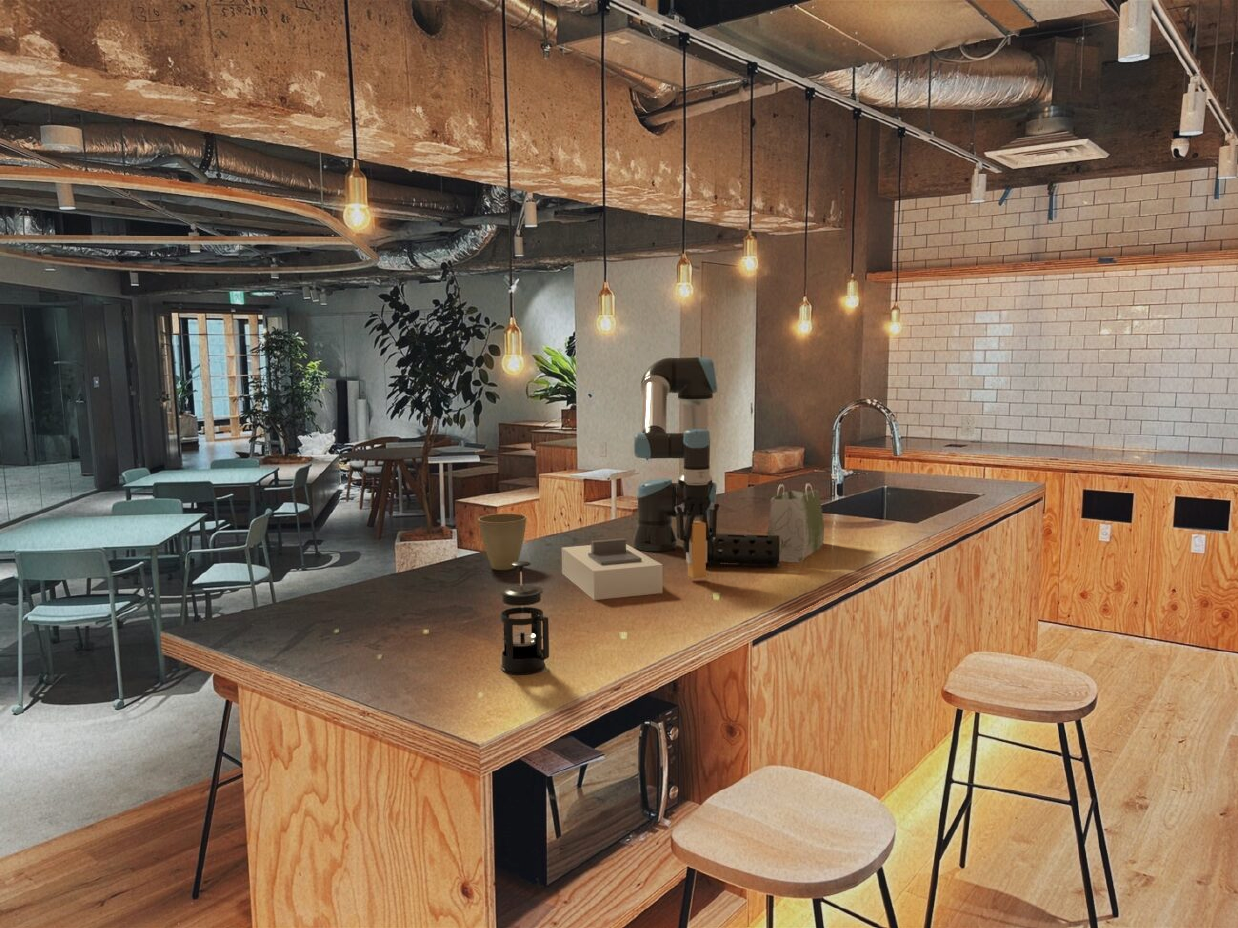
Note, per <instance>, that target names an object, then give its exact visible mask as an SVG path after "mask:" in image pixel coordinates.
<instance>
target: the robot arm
mask: <svg viewBox="0 0 1238 928" xmlns="http://www.w3.org/2000/svg"><path fill="white" fill-rule="evenodd" d="M716 376H717V375H716V369H715V364H714V361H713V359H711V358H710V357H702V356H701V357H700V356H698V357H667V358H662V359H660V360H658V361H656V362H654V363H653V364H651V366H649V367H648V368H647V370H646V371H645V372H644V374H643V376H642V378H641V381H640V392H641V394H642V396H643V398H642V419H641V432H639V433H636V434H635V435H634V436H633V437H634V438H633V439H634V440H633V442H634V444H633V445H634V446H633V448H634V450H633V451H634V452H633V453H634V457H635V458H637V459H647V460H650V459H682V473H681V474H680V475H679V476H678V477H677V482H673V481H672V478H668V477H667V478H654V479H649V480H645V481H642V482H641V483H639V484H638V487H637V526H636V530H635V533H634V536H633V540H632V548H634V549H636V550H638V551H643V552H644V551H645V552H666V551H671V550H672V551H673V550H675V549H676V548H677V547H678V540H680V541H683V545H682V547H683V552H684V553H685V558H686V559H685V562H686V563H687V564H688V563H689V564H692V542H691V541H690V537H691V531H692V524H693V521H695V518H699V521H701V522H703V523H706V564H707V563H708V562H707V551H708V550H709V549H710V540H711V539H712V538H713V537H716V534H717V527H718V526H717V523H718V521H717V520H718V512H719V511H718V510H719V507H720V505H719V503H717V502H716V497H717V483H716V482H714V481H713V477H712V476H711V473H710V472H711V469H710V466H711V465H710V462H711V461H710V457H711V455H710V454H711V453H710V452H711V450H710V449H711V437H710V431H709V403H710V402H711V401H712V400H713V398H714V397H713V394H716V393H718V387H717V385H718V384H717V377H716ZM671 393H672V394H677V399H678V400H679V401H680V402H681V404H682V432H679V433H678V432H677V433H676V432H669V433H668V432H667V417H668V415H667V406H668V395H669V394H671ZM708 517H709V520H708ZM673 518H675V519H676V520H675V521H676V533H675V530H674V528H673V520H672V519H673ZM684 518H686V519H685V524H684ZM708 521H709V522H708ZM677 539H678V540H677Z"/></svg>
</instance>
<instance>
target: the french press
mask: <svg viewBox="0 0 1238 928" xmlns="http://www.w3.org/2000/svg"><path fill="white" fill-rule="evenodd" d="M531 564H532V563H531V562H529V561H525V560H518V561H517V562H513V563H511V565H512V566H516V567H517V568H518V572H519V578H520V579H519V581H520V583H519V585H511V586H507V587H503V588H501V589H500V591H499V594H500V595H501V596H502V597H501V598H502V602H503V604H505V605H509V606H516V607H512V608H507V609H505V610H503V611H501V613H500V621H501V622H502V623H503V638H502V641H503V649H504V650H502V652H501V666H500V669H501V671H502V672H504V673H506V674H509V675H516V676H526V675H527V676H529V675H533V674H537V673H539V672H542V671H543V670H544V669H545V668H546V663H545V660H547V659H549V658H550V629H549V617H547V616H544V611H543V610H542V609H539V608H538V607H537V608H536V607H531V606H530V605H536V604H538V603H540V601H541V597H542V594H543V592H544V591H543V588H542V587H539V586H537V585H531V584H529V585H528V584H527V585H526V584H525V585H524V584H523V572H524V567H528V566H531ZM516 567H515V568H516ZM516 614H520V618H510V615H516ZM524 614H530V617H528V618H524ZM529 625H530V627H531V632H529V631H528V632H527V631H525V632H524V626H529ZM514 626H521V627H520V628H521V631H520V632H515V633H514V628H513V627H514Z"/></svg>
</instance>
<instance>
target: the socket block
mask: <svg viewBox="0 0 1238 928" xmlns="http://www.w3.org/2000/svg"><path fill="white" fill-rule="evenodd" d="M626 550H628V551H630V552H632V553H633V554H635V555H637V556H639V557H640V558H641V561H636V562H626V563H615V564H604V565H601V564H599V563H598V562H596V561H595V560H594V559H592V558H591V557H589V556H588V553H591V544H588V545H576V546H565V547H561V573H562V575H564V577H566V578H567V579H568V580H570V582H572V583H573V584H574V585H575V586H576V587H577V588H579V589H580V590H581V591H582V592H584V593H585V594H586V595H587V596H589V597H590V598H591V599H592V600H593V601H597V600H608V599H618V598H626V597H637V596H645V595H654V594H656V595H657V594H663V591H664V590H663V564H662V563H660V562H659V561H657V560H656V559H653V558H651V557H650V556H648V555H646V554H644V553H643V552H641V551H640V550H638V549H635V548H633V546H631V545H629V544H627V543H626Z"/></svg>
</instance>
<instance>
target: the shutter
mask: <svg viewBox="0 0 1238 928" xmlns="http://www.w3.org/2000/svg"><path fill="white" fill-rule="evenodd" d="M626 544H627V539H626V538H624V537H622V538H612V539H610V538H609V539H600V540H599V539H597V540H591V542H590V545H591V553H588V556H589V557H591V558H592V559H594V560H595V561H596V562H598V563H599V564H601V565H604V564H615V563H626V562H636V561H641V558H640V557H639V556H637V555H635V554H633V553H632V552H630V551H628V550H626Z"/></svg>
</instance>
